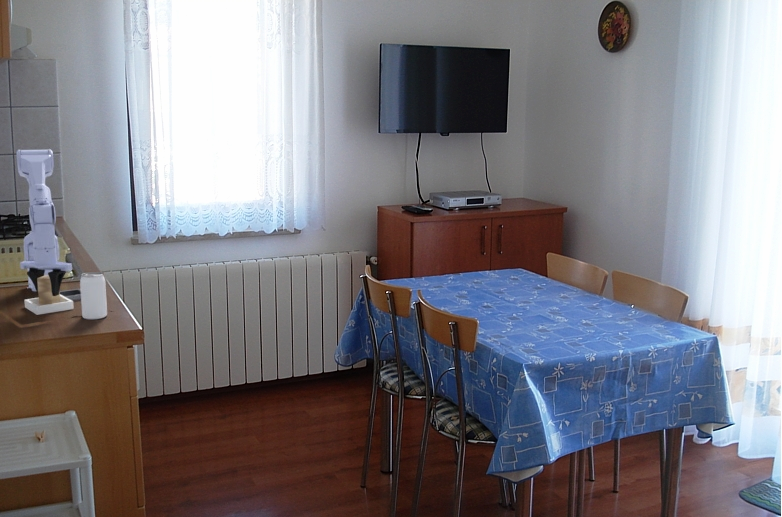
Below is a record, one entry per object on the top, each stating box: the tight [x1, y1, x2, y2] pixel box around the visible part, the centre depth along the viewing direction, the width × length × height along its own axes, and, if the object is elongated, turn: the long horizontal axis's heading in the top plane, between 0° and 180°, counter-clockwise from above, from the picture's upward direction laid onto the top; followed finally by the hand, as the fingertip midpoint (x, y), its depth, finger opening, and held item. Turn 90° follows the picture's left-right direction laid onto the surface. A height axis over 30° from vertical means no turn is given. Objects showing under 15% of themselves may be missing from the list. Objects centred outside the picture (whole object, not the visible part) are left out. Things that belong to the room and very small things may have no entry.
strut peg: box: [37, 275, 61, 306], centre depth 224 cm, size 4×4×8 cm
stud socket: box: [59, 288, 81, 302], centre depth 237 cm, size 9×9×2 cm
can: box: [79, 271, 108, 321], centre depth 219 cm, size 6×6×12 cm
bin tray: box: [24, 294, 75, 315], centre depth 225 cm, size 10×10×3 cm
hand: (48, 294), depth 224 cm, fingers closed on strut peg, 4 cm apart
